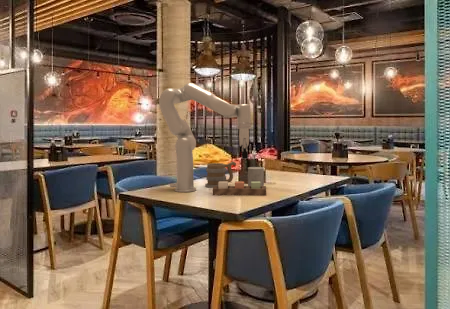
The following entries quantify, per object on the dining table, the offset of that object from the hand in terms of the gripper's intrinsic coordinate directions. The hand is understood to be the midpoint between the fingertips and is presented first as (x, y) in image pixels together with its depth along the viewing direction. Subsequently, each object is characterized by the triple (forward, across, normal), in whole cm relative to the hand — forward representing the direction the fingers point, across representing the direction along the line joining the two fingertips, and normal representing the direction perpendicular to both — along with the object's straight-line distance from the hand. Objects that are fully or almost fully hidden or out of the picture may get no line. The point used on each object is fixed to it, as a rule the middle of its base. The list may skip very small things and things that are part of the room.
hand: (245, 158), depth 232 cm
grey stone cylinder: (+19, -11, +6) cm, 23 cm away
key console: (+19, +7, -4) cm, 20 cm away
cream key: (+17, +7, -13) cm, 22 cm away
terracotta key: (+17, +7, -4) cm, 19 cm away
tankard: (+19, -19, -15) cm, 31 cm away
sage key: (+17, +7, +5) cm, 19 cm away
